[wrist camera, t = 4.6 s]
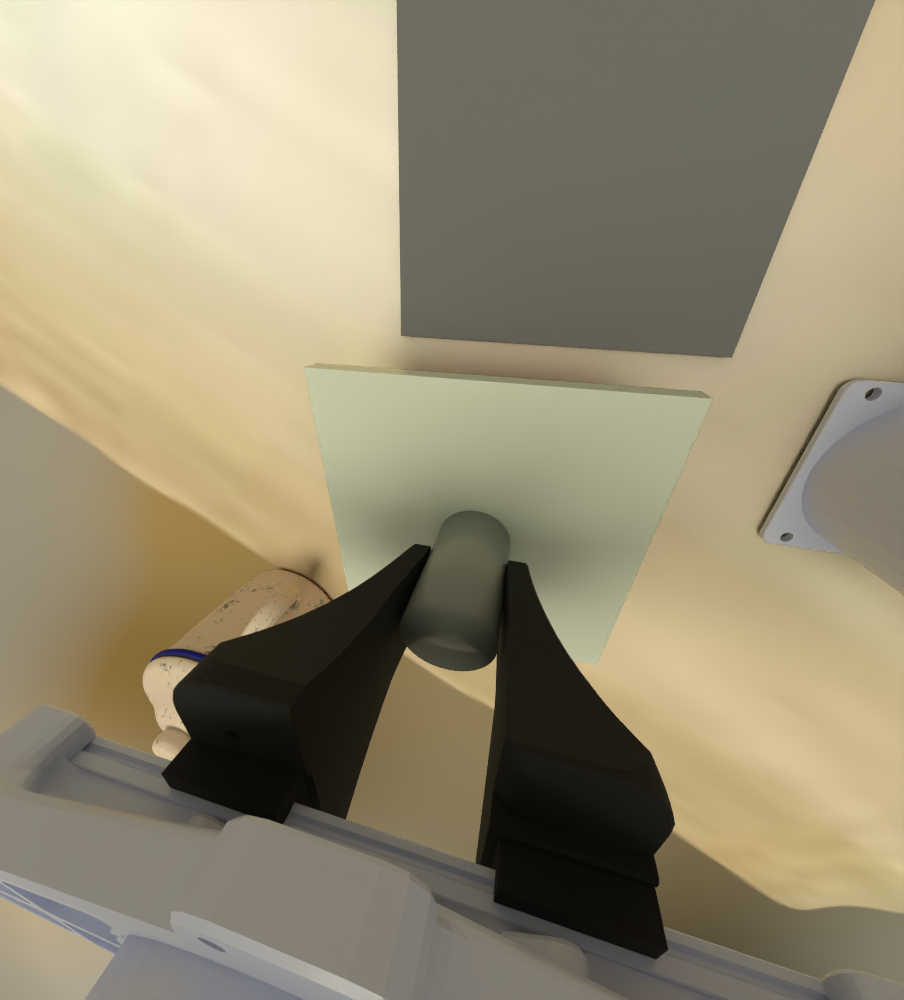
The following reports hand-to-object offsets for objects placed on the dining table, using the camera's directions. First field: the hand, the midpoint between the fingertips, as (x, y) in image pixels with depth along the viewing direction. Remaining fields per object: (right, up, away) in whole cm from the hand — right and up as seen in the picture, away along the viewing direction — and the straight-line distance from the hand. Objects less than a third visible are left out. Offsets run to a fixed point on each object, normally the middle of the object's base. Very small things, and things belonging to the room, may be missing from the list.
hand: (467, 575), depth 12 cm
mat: (+5, +17, 0) cm, 17 cm away
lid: (0, +2, +2) cm, 2 cm away
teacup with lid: (-13, -5, +16) cm, 22 cm away
